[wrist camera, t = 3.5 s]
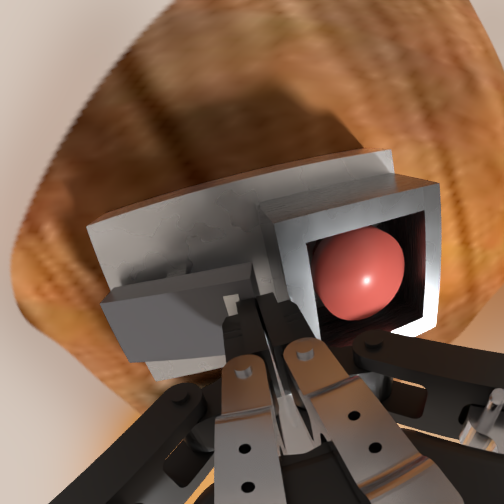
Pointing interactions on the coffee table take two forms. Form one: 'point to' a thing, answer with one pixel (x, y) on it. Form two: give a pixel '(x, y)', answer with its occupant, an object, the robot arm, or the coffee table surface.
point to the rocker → (178, 313)
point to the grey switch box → (283, 238)
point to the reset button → (357, 272)
